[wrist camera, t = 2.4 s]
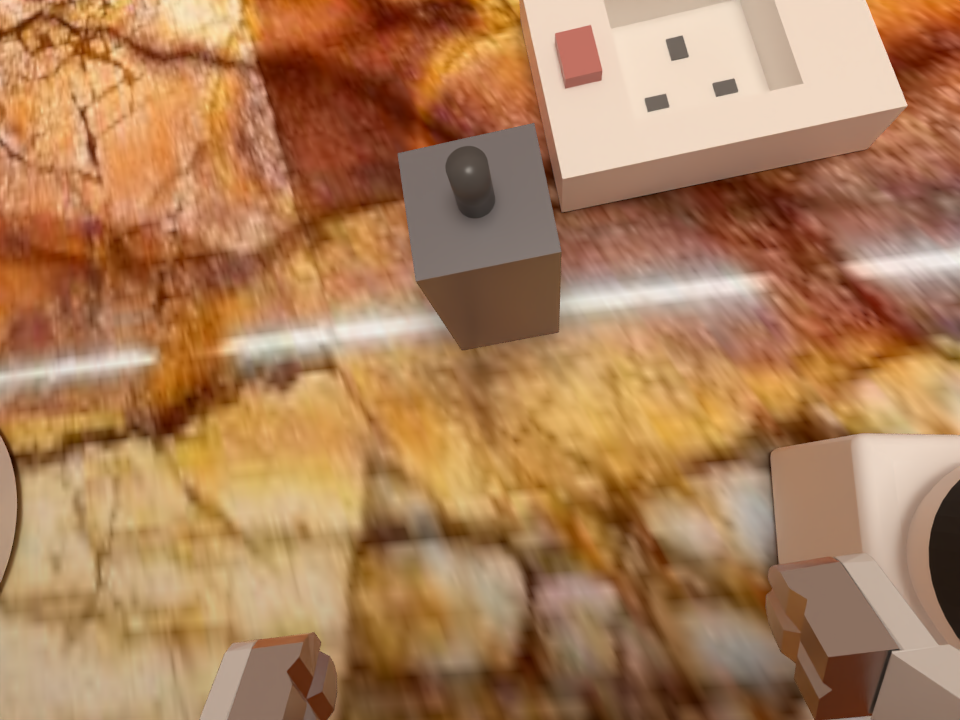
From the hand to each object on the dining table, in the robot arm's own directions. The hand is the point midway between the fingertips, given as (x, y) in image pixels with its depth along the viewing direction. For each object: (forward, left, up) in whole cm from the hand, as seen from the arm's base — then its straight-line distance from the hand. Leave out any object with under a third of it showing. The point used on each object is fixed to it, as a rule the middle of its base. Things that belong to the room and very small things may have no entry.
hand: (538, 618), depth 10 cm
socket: (+10, +20, -14) cm, 27 cm away
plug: (0, +11, -14) cm, 18 cm away
